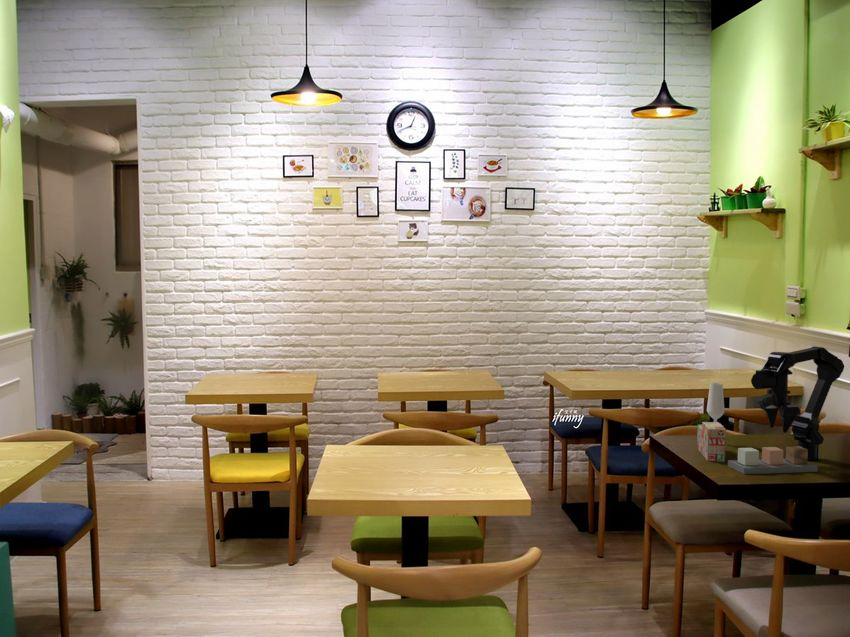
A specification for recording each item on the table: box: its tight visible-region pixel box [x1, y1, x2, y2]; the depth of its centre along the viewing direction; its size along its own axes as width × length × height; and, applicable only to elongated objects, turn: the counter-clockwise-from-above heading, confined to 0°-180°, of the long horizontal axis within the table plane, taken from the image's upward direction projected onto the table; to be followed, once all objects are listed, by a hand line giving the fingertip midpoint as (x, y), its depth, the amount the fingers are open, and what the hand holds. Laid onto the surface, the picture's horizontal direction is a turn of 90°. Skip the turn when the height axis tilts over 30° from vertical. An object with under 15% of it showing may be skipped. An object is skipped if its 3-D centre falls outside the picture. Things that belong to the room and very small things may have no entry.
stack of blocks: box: [696, 421, 727, 463], centre depth 295 cm, size 21×6×12 cm, turn 171°
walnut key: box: [785, 445, 808, 464], centre depth 275 cm, size 5×5×5 cm
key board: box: [727, 458, 819, 475], centre depth 275 cm, size 27×11×2 cm, turn 96°
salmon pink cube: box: [761, 446, 784, 465], centre depth 274 cm, size 5×5×5 cm
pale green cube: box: [737, 447, 760, 466], centre depth 273 cm, size 5×5×5 cm
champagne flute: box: [706, 382, 726, 422], centre depth 313 cm, size 7×7×24 cm
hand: (778, 430), depth 283 cm, fingers open, 8 cm apart
